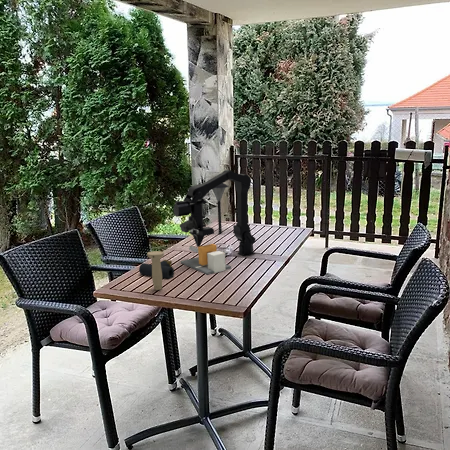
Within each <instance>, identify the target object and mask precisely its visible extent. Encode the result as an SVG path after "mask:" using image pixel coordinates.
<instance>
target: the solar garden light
mask: <svg viewBox="0 0 450 450" xmlns="http://www.w3.org/2000/svg"><path fill="white" fill-rule="evenodd" d="M229 187H230V186H229V185H227V184H225V182H224V183H222V184H220V185H219V186H217V187H215V188H213V189H212V190H211V191H212V193H213V195H214V196H215V198H216V200H217V220H218V221H217V223H218V234H219V235H222V233H223V231H222V230H223V229H222V207H221V206H222V205H221V201H222V198H223V196H224V192H225V190H226V188H229Z"/></svg>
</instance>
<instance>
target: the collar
mask: <svg viewBox="0 0 450 450" xmlns="http://www.w3.org/2000/svg"><path fill="white" fill-rule="evenodd" d="M197 248H198V253H197V254H198V257H199V264H201V265H206V264H208V257H207V252H209V253H211V252H215V251H218V250H217V249H218V248H217V244H215V243H210V244H209V243H208V244H205V245H200V247H197Z"/></svg>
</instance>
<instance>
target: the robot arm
mask: <svg viewBox="0 0 450 450" xmlns="http://www.w3.org/2000/svg"><path fill="white" fill-rule="evenodd" d="M227 181H231V182H233V183H234V188H235V190H236V194H237V198H236V199H237V202H236V203H237V205H236V207H237V222H236V224H234V225H233V227H232V228H233V231H232V233H233V234H234V237H235V238H236V239H237V241H238V243H239V245H238V252H237V254H238V255H241V256H243V257H248V256H250V255H255V254H256V252H254V244H255V243H256V237H255V236H253V235H252V232H251V226H250V224H249V222H248V192H249V191H250V189H251V184H252V178H251V176H250V175H248V174H245V173H237V172H235V171H232V170H227V169H225V170H223V171H222V172H220V173H219V174H217V175H216V176H213V177H212V178H210V179H208V180H207V181H205V182H202V183H198V184H195V185H191V186H190V187H189V188H188V189H187V193H186V195H185V197H184V198H183V200H179V201H178V200H177V201H175V204H174V206H173V213H174V216H175V218H177V217H179V218H180V217H185V216H188V220H185V221H184V222H182V223H181V224H179V228H180V230H181V232H182V233H185V234H188V233H189V234H191V236H192V237H193V240H194V242H195V244H196V245H195V246H196V248H198V247H200V246H202V242H203V240H204V238H205V237H206V236H210V235H215V229H214V228H213V227H210V226H206V224H205V223H204V219H206V216H205V215H204V206H203V205H206V204H207V203H208V202H207V201H206V200H205V197H206V196H207V194H208V193H209V192H211V191H213V190H212V189H213V188H215V187H217V186H219V185H220V184H222V183H224V184H225V182H227Z"/></svg>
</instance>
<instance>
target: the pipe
mask: <svg viewBox="0 0 450 450" xmlns="http://www.w3.org/2000/svg"><path fill="white" fill-rule="evenodd" d="M188 249H189V251H191V252H194V253H197V254H198V247H195V246H192V245H190V246H189V248H188ZM207 253H209V252H207Z"/></svg>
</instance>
